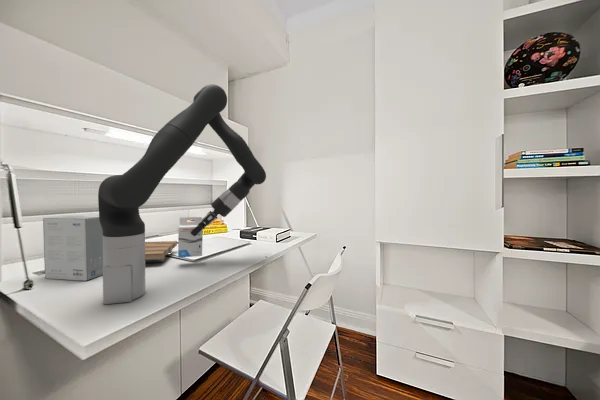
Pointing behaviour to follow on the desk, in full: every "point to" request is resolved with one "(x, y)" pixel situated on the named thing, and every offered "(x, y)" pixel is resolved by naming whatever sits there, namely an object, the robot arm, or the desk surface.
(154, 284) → the desk surface
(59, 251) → the hard drive box
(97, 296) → the desk surface
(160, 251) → the slab
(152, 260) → the rollers
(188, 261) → the desk surface
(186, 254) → the ink box
